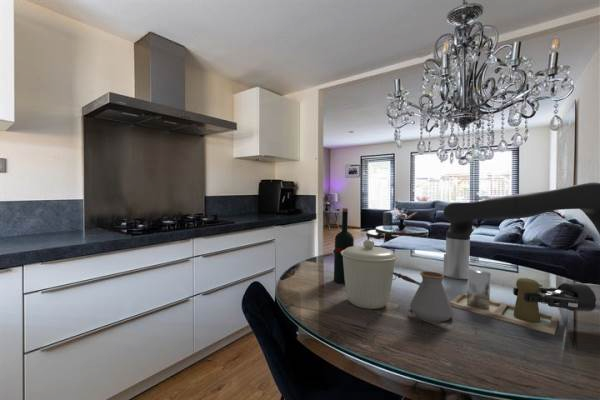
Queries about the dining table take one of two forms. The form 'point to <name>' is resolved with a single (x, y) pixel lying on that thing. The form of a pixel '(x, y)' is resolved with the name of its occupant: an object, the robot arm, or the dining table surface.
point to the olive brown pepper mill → (522, 307)
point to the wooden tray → (508, 314)
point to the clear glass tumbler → (478, 289)
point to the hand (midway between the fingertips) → (519, 294)
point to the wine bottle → (341, 248)
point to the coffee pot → (430, 298)
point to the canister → (368, 274)
